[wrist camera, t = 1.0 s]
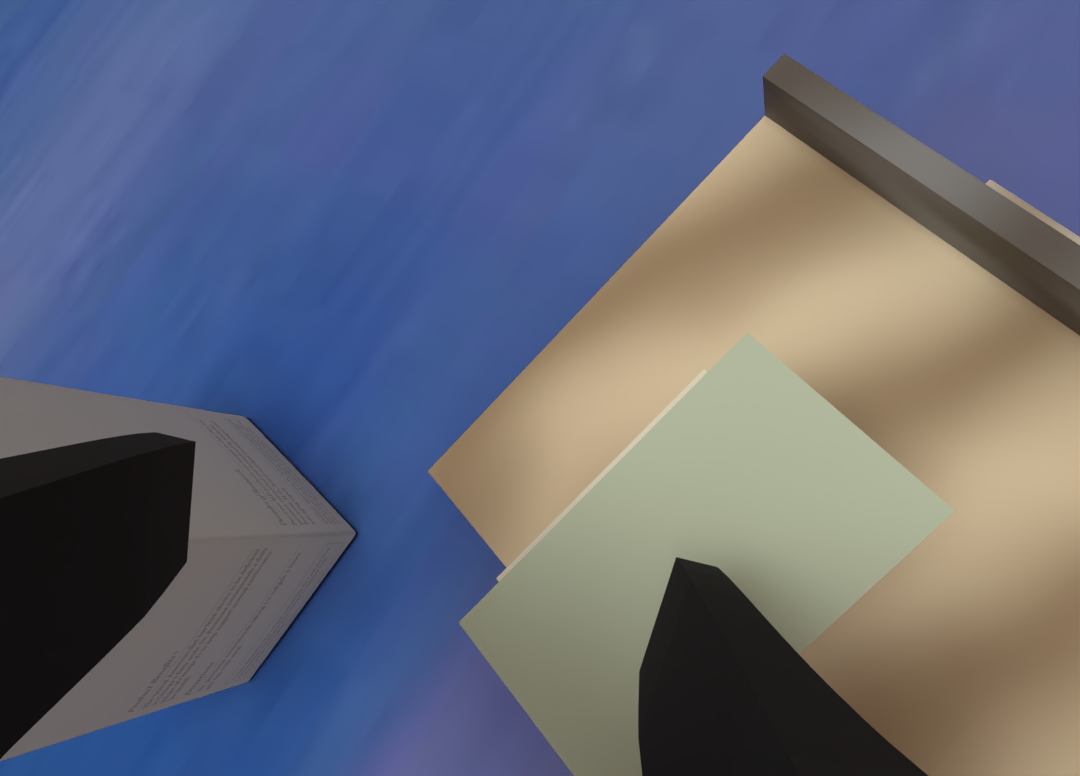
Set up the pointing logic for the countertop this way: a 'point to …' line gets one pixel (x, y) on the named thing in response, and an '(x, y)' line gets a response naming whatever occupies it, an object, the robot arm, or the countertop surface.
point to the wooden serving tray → (854, 407)
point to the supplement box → (188, 555)
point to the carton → (696, 546)
